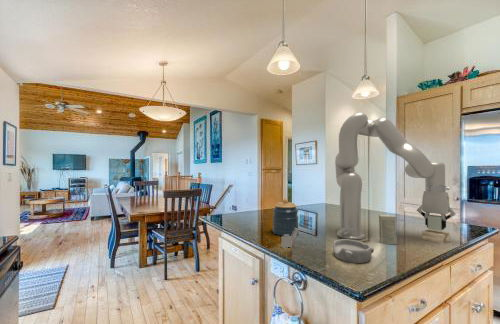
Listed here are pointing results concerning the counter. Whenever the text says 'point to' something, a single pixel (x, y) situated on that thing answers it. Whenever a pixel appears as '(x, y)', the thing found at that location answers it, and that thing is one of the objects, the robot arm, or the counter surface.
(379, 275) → the counter surface
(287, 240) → the lighter
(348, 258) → the dish
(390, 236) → the skincare box
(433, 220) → the grey-green block
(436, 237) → the beech block
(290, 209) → the canister
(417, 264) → the counter surface
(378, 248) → the counter surface
